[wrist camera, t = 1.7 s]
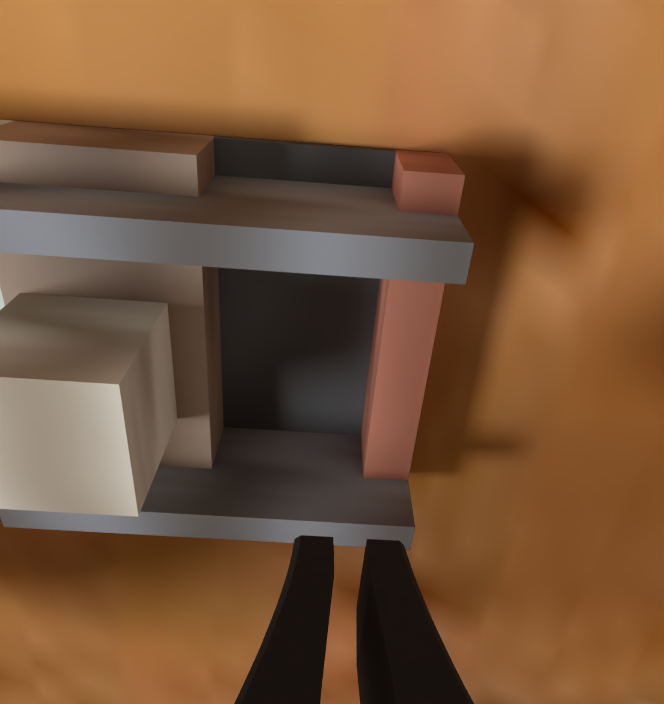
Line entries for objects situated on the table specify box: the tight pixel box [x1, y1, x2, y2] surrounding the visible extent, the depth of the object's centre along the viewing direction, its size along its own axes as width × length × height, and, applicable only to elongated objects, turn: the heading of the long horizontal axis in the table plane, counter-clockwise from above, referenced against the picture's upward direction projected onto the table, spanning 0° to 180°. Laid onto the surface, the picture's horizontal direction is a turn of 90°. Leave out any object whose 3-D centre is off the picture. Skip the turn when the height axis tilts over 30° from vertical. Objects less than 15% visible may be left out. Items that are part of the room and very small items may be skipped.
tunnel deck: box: [0, 120, 474, 550], centre depth 17 cm, size 18×12×4 cm, turn 86°
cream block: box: [0, 293, 177, 517], centre depth 15 cm, size 4×4×4 cm
